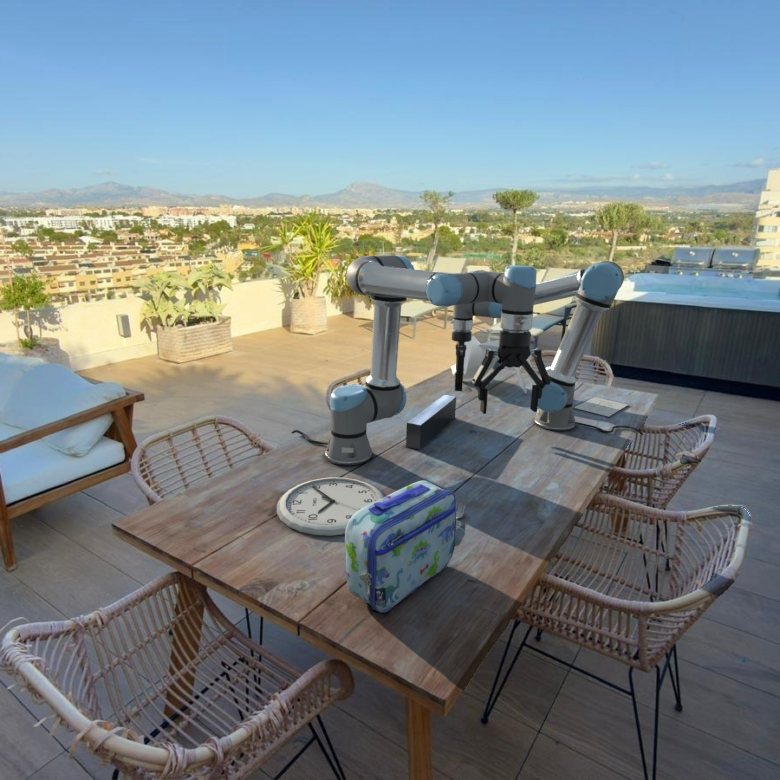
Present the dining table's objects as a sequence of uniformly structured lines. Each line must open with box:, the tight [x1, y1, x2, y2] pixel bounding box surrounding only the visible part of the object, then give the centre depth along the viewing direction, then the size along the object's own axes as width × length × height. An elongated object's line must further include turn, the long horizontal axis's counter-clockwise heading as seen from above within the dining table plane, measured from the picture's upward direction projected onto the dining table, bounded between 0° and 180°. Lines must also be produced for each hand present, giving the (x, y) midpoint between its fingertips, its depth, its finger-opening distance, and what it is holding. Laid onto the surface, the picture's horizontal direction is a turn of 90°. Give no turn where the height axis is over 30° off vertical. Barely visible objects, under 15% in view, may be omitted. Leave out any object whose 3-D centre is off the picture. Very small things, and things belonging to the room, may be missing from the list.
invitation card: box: [573, 396, 629, 418], centre depth 226 cm, size 21×1×15 cm
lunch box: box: [344, 480, 457, 614], centre depth 109 cm, size 26×11×21 cm, turn 135°
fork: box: [456, 501, 466, 520], centre depth 134 cm, size 3×16×2 cm, turn 160°
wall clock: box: [276, 476, 386, 537], centre depth 142 cm, size 30×2×30 cm
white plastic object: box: [450, 335, 536, 394], centre depth 253 cm, size 37×45×31 cm
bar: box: [405, 394, 457, 451], centre depth 194 cm, size 36×5×9 cm, turn 153°
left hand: (508, 411), depth 135 cm, fingers open, 13 cm apart
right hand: (458, 388), depth 206 cm, fingers open, 4 cm apart
